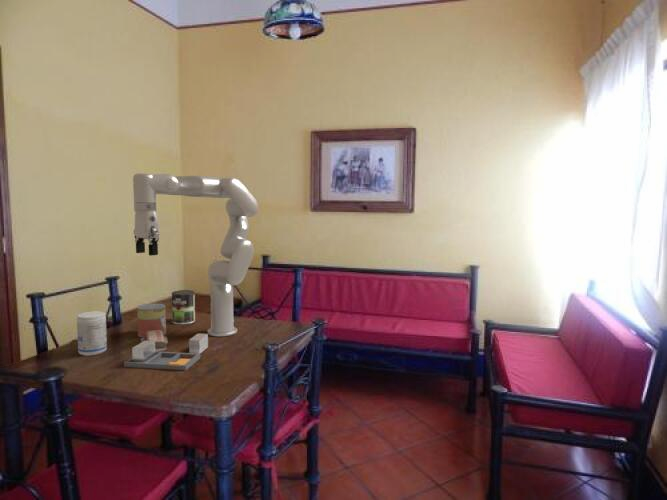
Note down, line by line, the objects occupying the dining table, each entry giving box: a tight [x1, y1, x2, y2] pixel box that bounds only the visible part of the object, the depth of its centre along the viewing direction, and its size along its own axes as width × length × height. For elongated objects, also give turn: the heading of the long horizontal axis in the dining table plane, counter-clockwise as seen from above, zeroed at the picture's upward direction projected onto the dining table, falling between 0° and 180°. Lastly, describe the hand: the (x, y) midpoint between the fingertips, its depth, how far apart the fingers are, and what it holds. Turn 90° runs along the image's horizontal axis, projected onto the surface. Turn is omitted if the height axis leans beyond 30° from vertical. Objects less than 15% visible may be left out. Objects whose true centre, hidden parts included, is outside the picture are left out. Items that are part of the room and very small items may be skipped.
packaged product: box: [140, 330, 169, 352], centre depth 176 cm, size 18×5×10 cm
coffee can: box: [171, 289, 196, 325], centre depth 210 cm, size 10×10×14 cm
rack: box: [123, 351, 201, 371], centre depth 157 cm, size 12×22×3 cm, turn 83°
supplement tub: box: [76, 310, 108, 357], centre depth 168 cm, size 10×10×15 cm
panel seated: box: [131, 341, 156, 362], centre depth 157 cm, size 8×4×6 cm, turn 173°
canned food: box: [136, 302, 167, 338], centre depth 191 cm, size 11×11×12 cm
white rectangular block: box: [188, 333, 209, 355], centre depth 170 cm, size 8×4×6 cm, turn 173°
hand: (146, 253), depth 166 cm, fingers open, 9 cm apart
